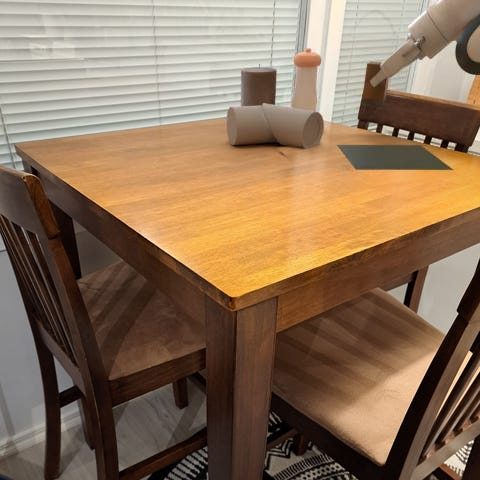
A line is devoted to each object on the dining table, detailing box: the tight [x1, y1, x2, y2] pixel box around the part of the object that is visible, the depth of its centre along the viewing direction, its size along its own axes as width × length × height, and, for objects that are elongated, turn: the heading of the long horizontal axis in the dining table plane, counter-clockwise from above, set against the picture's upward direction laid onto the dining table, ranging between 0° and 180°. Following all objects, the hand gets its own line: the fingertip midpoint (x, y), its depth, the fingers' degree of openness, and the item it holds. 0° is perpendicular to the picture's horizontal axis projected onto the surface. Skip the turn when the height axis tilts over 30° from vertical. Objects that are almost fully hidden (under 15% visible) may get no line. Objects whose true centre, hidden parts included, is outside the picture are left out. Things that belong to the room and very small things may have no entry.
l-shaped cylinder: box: [226, 103, 325, 149], centre depth 116 cm, size 18×11×20 cm
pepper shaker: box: [291, 47, 322, 112], centre depth 130 cm, size 7×7×19 cm
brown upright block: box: [360, 61, 390, 108], centre depth 117 cm, size 5×4×9 cm
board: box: [336, 144, 454, 171], centre depth 108 cm, size 20×20×1 cm
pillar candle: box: [240, 63, 278, 106], centre depth 135 cm, size 10×10×15 cm
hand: (374, 82), depth 117 cm, fingers closed on brown upright block, 4 cm apart
